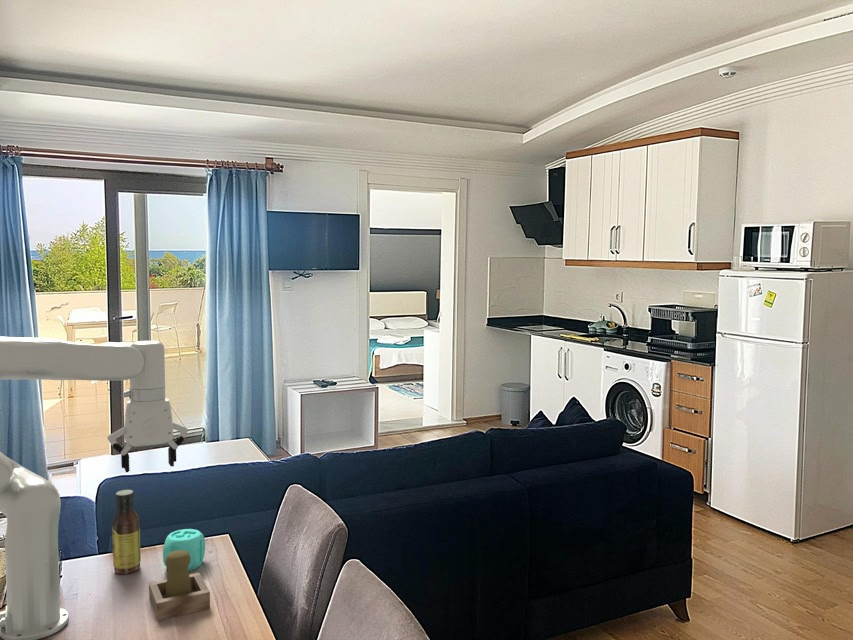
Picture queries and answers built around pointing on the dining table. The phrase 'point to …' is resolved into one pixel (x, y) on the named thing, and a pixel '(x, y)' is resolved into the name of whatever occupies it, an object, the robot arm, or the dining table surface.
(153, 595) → the shaker holder
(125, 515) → the sauce bottle
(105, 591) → the dining table surface
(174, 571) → the cork
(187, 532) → the decorative dice
